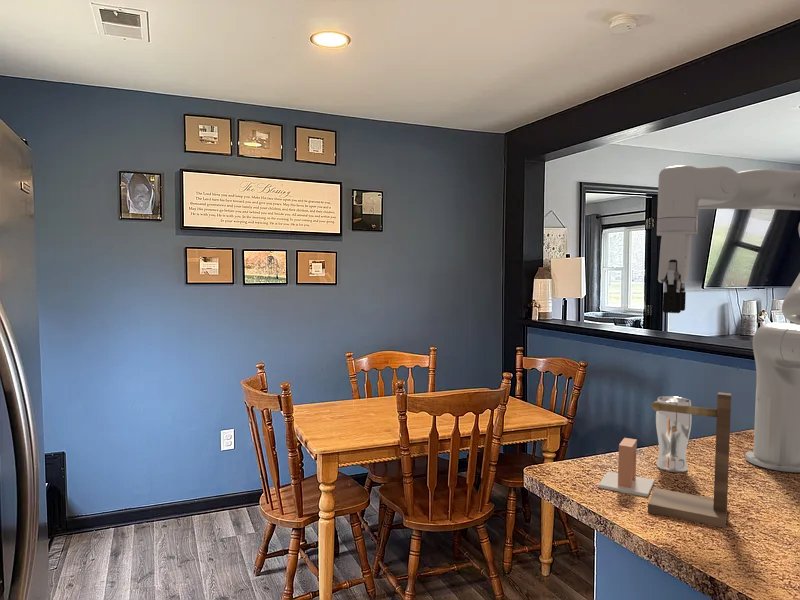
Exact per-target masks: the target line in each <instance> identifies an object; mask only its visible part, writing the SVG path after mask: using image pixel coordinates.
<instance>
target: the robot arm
mask: <svg viewBox="0 0 800 600" xmlns="http://www.w3.org/2000/svg"><path fill="white" fill-rule="evenodd" d="M657 190H658V191H657V219H656V220H657V221H656V236H658V237H661V239H660V249H659V261H658V276H657V280H658V281H657V282H659V283H661V284H664V286H663V292H662V313H664V314H665V313H666V314H667V313H668V314H680V313H681V312H683V311H685V310H686V296H687V295H686V293H687V292H686V284H685V283H687V282H688V281H689V273H690V265H691V264H690V262H691V245H692V244H691V242H692V241H691V237H692V236H697V235H698V230H699V229H698V227H699V225H698V224H699V220H698V219H699V210H710V209H711V210H713V209H714V210H723V209H724V210H728V209H729V210H784V211H785V210H786V211H787V210H788V211H800V170H796V169H795V170H791V169H776V168H759V169H749V170H743V171H739V172H737V171H735V170H734V169H733V168H731V167H729V166H722V165H717V166H708V167H707V166H706V167H696V166H693V165H684V164H683V165H673V166H668V167H664V168H663V169H661V170H660V172H659V173H658V187H657ZM798 234H799V235H798V236H799V237H800V222H799V223H798ZM781 313H782V315H783V316H784V318H785V319H786V320H788V321H789V322H786V321H774V322H768V323H765V324H762V325H761V326H759V327H758V328H757V329H756V331H755V333H754V334H753V338H752V351H753V356H754V362H755V370H756V371H755V372H756V373H755V374H756V379H755V380H756V385H755V386H756V387H755V388H756V389H755V405H754V406H755V409H754V411H755V412H754V429H753V431H754V434H753V450H750V451H749V450H748V451H746V452H745V454H744V455H745V457H744V458H745V460H746V461H747V462H749V463H751V464H752V465H755V466H757V467H761V468H764V469H768V470H772V471H779V472H787V473H800V272H799V273H798V275H797V277H796V279H795V280H794V282H793V283H792V285H791V287H790V288H789V290H788V292H787V294H786V296H785V298H784V300H783V301H782V304H781Z"/></svg>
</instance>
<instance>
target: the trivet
mask: <svg viewBox="0 0 800 600" xmlns="http://www.w3.org/2000/svg"><path fill="white" fill-rule="evenodd" d="M654 484H655V479H653V478H648V477H647V478H646V477H643V476H641V477H640V476H637V475H636V479H635V481H633V480H632V487H631V488H628V487H623V486H618V472H614V471H607V472H606V473H605V475H604V476H603V477H602V479H601V481H599V483H598V485H597V486H598V487H599V489H603V488H604V489H603V490H609V491H615V492H620V493H623V494H624V493H625V494H629V495H633V496H634V495H636V496H640V497H646V498H649V495H650V494H651V491H652V489H653V486H654Z"/></svg>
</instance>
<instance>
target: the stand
mask: <svg viewBox="0 0 800 600" xmlns="http://www.w3.org/2000/svg"><path fill="white" fill-rule="evenodd" d="M716 399H717V400H716V401H717V402H716V408H708V407H700V406H699V407H698V406H692V405H691V406H684V405H676V404H667V403H660V402H658V400H654V401H653V402H652V403H651V409H652V410H653V411H654V412H656V411H668V412H676V413H684V414H691V416H692V415H693V416H702V417H709V418H710V417H711V418H716V426H715V427H716V429H715V430H716V432H715V433H716V434H715V454H714V455H715V458H714V481H713V482H714V484H713V487H714V488H713V498H712V497H707V496H700V495H696V494H690V493H687V492H686V493H684V492H681V491H680V492H679V491H675V490H674V491H673V490H669V489H664V488H660V487H659V488H658V487H654V489H653V492H652V493H651V495H650V498H649V500H648V503H647V513H651V514H654V515H659V516H665V517H671V518H675V519H680V520H685V521H689V522H695V523H700V524H704V525H709V526H714V527H720V528H724V529H726V527H727V517H728V516H727V515H728V495H729V494H728V491H729V489H728V488H729V467H730V466H729V465H730V464H729V463H730V461H729V460H730V437H731V411H732V393H731V392H728V393H727V392H720V391H719V392H717V398H716Z"/></svg>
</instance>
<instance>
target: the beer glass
mask: <svg viewBox="0 0 800 600" xmlns="http://www.w3.org/2000/svg"><path fill="white" fill-rule="evenodd" d="M657 401H658V402H660V403H667V404H676V405H684V406H692V400H691V399H689V398H686V397H681V396H680V397H679V396H671V395H667V396H666V395H665V396H663V395H662V396H658V397H657ZM655 426H656V434H657V435H656V436H657V441H658V456H657V461H656V467H657V468H658V469H659V470H663V471H665V470H666V471H665V472H671V473H672V472H673V473H685V472H687V471H688V462H687V448H688V447H687V446H688V443H689V439H690V433H691V429H692V414H684V413H676V412H668V411H655Z"/></svg>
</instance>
